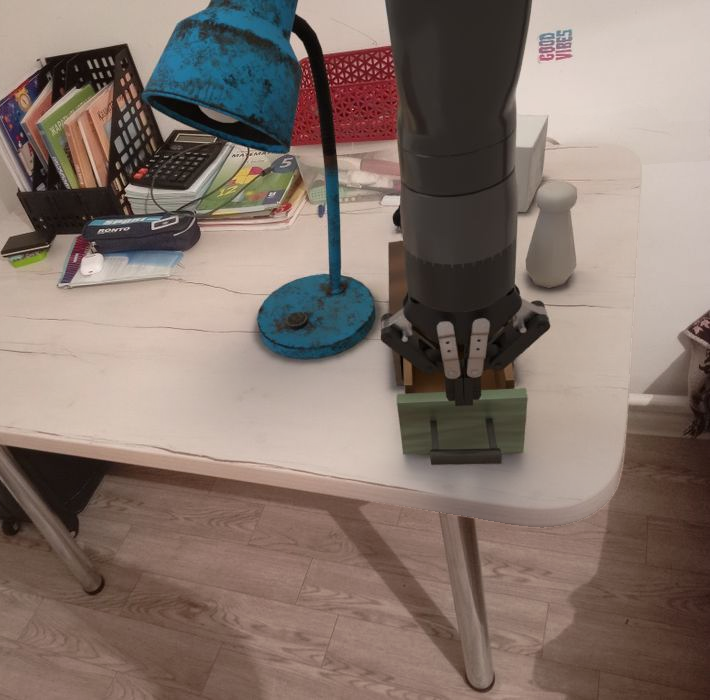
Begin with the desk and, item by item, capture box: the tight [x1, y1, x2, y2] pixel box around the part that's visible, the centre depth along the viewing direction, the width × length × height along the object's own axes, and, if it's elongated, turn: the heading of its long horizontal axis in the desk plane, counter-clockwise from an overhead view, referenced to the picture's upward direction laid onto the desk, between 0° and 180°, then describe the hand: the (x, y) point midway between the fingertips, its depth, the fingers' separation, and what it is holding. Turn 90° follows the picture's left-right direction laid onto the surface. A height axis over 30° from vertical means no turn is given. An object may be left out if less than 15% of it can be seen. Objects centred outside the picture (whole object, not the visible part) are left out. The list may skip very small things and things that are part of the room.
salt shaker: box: [525, 180, 578, 289], centre depth 75 cm, size 6×6×13 cm
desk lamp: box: [141, 0, 377, 360], centre depth 69 cm, size 16×22×45 cm
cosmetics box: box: [515, 114, 549, 213], centre depth 92 cm, size 10×6×10 cm, turn 148°
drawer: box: [396, 326, 529, 466], centre depth 63 cm, size 19×11×8 cm, turn 169°
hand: (463, 398), depth 54 cm, fingers closed
